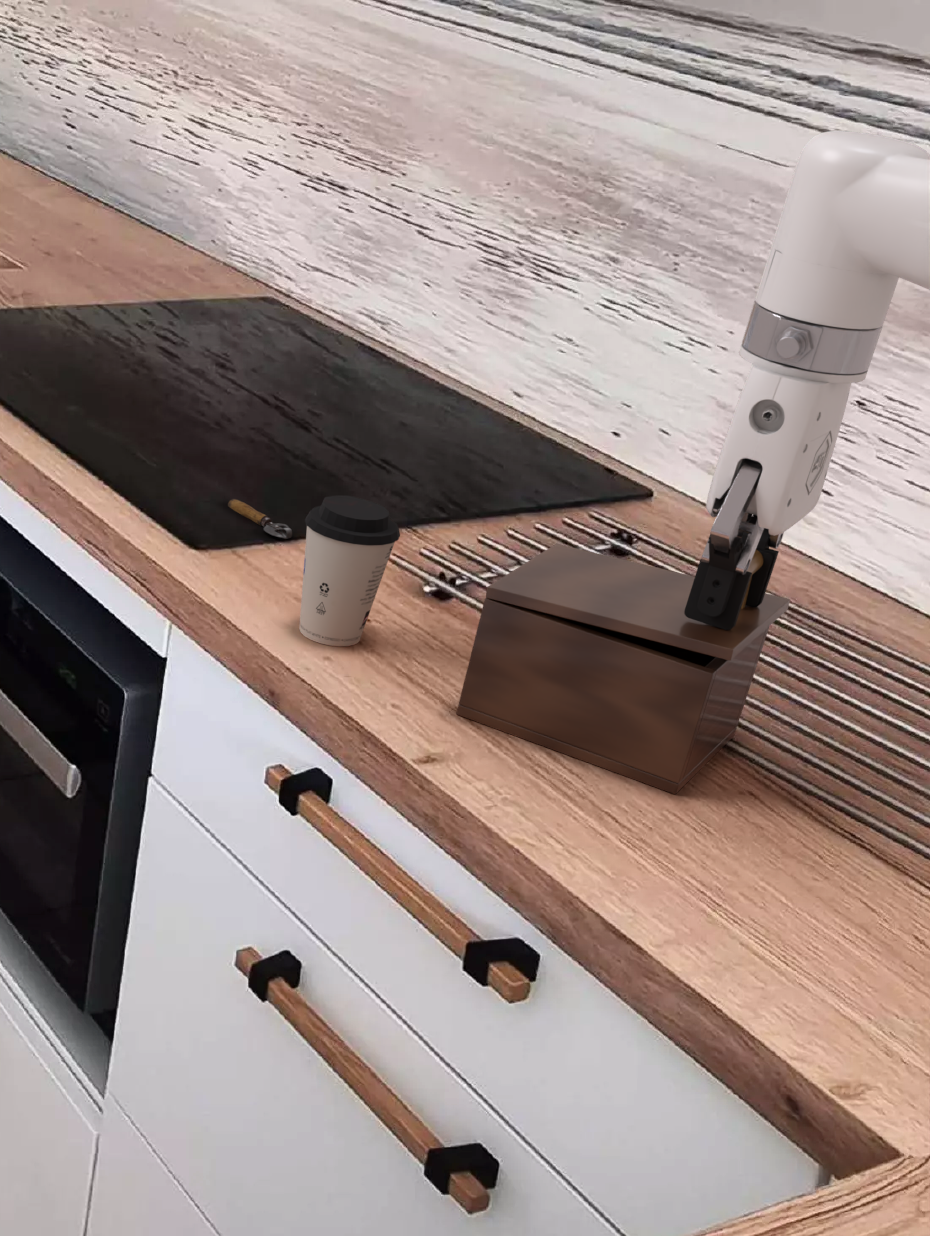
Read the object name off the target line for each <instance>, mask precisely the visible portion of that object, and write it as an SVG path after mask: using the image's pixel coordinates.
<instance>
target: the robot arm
mask: <svg viewBox="0 0 930 1236" xmlns="http://www.w3.org/2000/svg"><path fill="white" fill-rule="evenodd" d="M790 180H791V181H790V184H789V186H788V191H787V193H786V195H785V200H784V203H783V207H782V210H781V213H780V215H779V220H778V223H777V226H776V230H775V233H774V236H773V239H772V242H771V245H770V248H769V249H770V250H769V252H768V256H767V259H766V262H765V264H764V265H765V266H764V269H763V272H762V275H761V279H760V283H759V285H758V288H757V292H756V295H755V300H754V301H753V304H752V307H751V311H750V314H749V317H748V321H747V324H746V327H745V330H744V333H743V337H742V340H741V344H740V347H739V350H738V353H739V354H738V355H739V356H740V357H741V358H742V359H743V360H745V361H747V362H748V363H750V364H751V365H750V368H749V370H748V373H747V376H746V378H745V381H744V384H743V387H742V390H741V392H740V393H739V395H738V401H737V403H736V406H735V409H734V411H733V414H732V417H731V421H730V423H729V426H728V429H727V431H726V434H725V438H724V441H723V444H722V446H721V450H720V452H719V456H718V458H717V462H716V466H715V469H714V473H713V475H712V479H711V482H710V485H709V489H708V494H707V498H706V503H705V508H706V511H707V513H708V514H709V515H710V517H712V518H715V519H714V521H713V523H712V526H711V529H710V531H709V536H708V538H707V542H706V544H705V547H704V549H703V552H702V554H701V558H700V560H699V562H698V566H697V570H696V572H695V575H694V577H695V578H694V582H693V585H692V588H691V591H690V594H689V598H688V601H687V604H686V607H685V610H684V614H685V616H686V617H688V618H690V619H693V620H696V621H699V622H702V623H705V624H708V625H711V626H714V627H717V628H720V629H724V630H731V629H732V628H733V627H734V626H735V625H736V622H737V619H738V616H739V613H740V609H741V606H742V603H743V600H744V597H745V594H746V591H747V588H748V585H749V582H750V579H751V576H752V579H751V583H750V587H749V591H748V596H747V600H746V604H745V605H748V606H751V607H757V606H759V605H760V604H761V603H762V601H763V598H764V595H765V593H766V592H767V589H768V586H769V582H770V579H771V577H772V574H773V571H774V569H775V564H776V562H777V558H778V555H779V550H777V549H778V548H779V547H780V545H781V542H782V540H783V537H784V534H785V532H786V531H788V530H789V529H791V528H792V527H793V526H795V525H796V524H798V523H800V521H801V520H802V519H804V518H805V517H806V516H807V515H808V514H810V512H812V511H814V509H815V507H817V505H818V503H819V500H820V498H821V495H822V491H823V488H824V484H825V481H826V478H827V474H828V471H829V468H830V464H831V460H832V456H833V453H834V450H835V447H836V444H837V440H838V437H839V433H840V430H841V425H842V422H843V419H844V415H845V412H846V408H847V405H848V404H847V403H848V400H849V396H850V391H851V387H852V383H854V384H857V383H861V382H863V381H864V380H866V377H867V375H868V372H869V368H870V365H871V364H872V363H871V362H872V360H873V357H874V354H875V350H876V347H877V344H878V342H879V338H880V337H881V333H882V329H883V326H884V323H885V320H886V318H887V316H888V311H889V309H890V306H891V303H892V300H893V297H894V294H895V291H896V288H897V285H898V282H899V279H902V280H905V281H907V282H910V283H912V284H915V285H917V286H920V287H922V288H924V289H927V290H929V291H930V154H929V152H928V151H927V150H925V149H924V148H922V147H921V146H919V145H917V144H914V143H911V142H908V141H906V140H901V139H899V138H895V137H890V136H885V135H881V134H874V133H868V132H861V131H849V130H831V131H830V130H829V131H824V132H820V133H818V134H816V135H814V136H812V137H811V138H810V139H808V141H807V142H806V143H805V144H804V146H803V148H802V149H801V151H800V153H799V156H798V159H797V162H796V164H795V167H794V169H793V174H792V177H791V179H790ZM772 548H773V549H772ZM755 550H758V551H759V552H760V553H761V554H762V556H763V565H762V567H761V568H760V569H759V570H757V571H756V572H755V573H754V574H753V575H752V573H751V572H748V571H747V570H748V568H749V566H750V563H751V560H752V558H753V555H754V553H755Z"/></svg>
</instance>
